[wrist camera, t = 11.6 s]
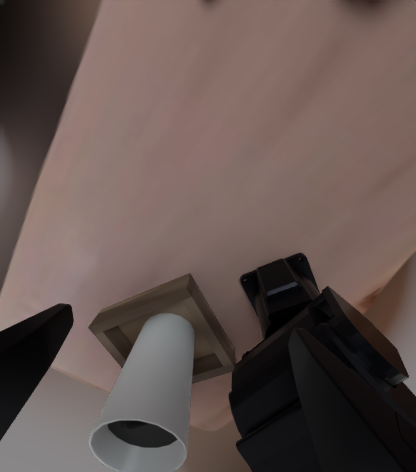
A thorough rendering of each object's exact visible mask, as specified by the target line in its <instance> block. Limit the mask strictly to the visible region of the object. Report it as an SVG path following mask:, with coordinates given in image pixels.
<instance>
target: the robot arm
mask: <svg viewBox="0 0 416 472" xmlns="http://www.w3.org/2000/svg"><path fill="white" fill-rule="evenodd" d="M300 257H303V258H302V259H301V260H299V258H300ZM244 279H248V280H247V281H243V280H244ZM240 281H241V284H242V286H243V288H244V290H245V292H246V294H247V296H248V298H249V300H250V302H251V304H252V306H253V308H254V310H255V312H256V314H257V316H258V318H259V322H260V326H261V330H262V334H263V338H264V340H263V341H262V342H261V343H259V344H258V345H257V346H256V347H254V348H253V349H252V350H251V351H247V352H246V353H245V354H243V356H242V360H241V361H239V362H238V363H237V364H236V365H235V367H234V370H233V373H232V391H231V392H230V393H229V402H230V407H231V411H232V415H233V418H234V420H235V423H236V426H237V429H238V431H239V433H240V435H241V437H242V439H240V440H238V441H237V443H236V447H237V449H238V451H239V452H240V454H241V455H242V457H243V458H244V459H245V461H246V462H247V464H248V465H249V466H250V468H251V470H252V472H416V396H415V395H414V394H413V393H412V392H411V391H410V389H409V388H408V387H407V386H406V385H405V384H404V383H403V382H402V381H404V380H405V379H407V378H409V375H408V373H407V371H406V368H405V366H404V364H403V361H402V359H401V357H400V355H399V352H398V350H397V349H396V347H395V346H394V345H393V344H392V343H391V342H390V341H389V340H388V339H387V338H386V337H385V336H384V335H383V334H382V333H381V332H380V331H379V330H378V329H377V328H376V327H375V326H374V325H373V324H372V322H370V321H369V320H368V319H367V318H366V317H365V316H363V315H362V314H361V313H360V312H359V311H357V310H356V309H355V308H354V307H353V306H352V305H350V304H349V303H348V302H347V301H346V300H344V299H343V298H342V297H341V296H340V295H338V294H337V293H336V292H335V291H334V290H332V289H331V288H330V287H329V286H327V287H326V288H325V289H323V290H322V293H321V294H320V292H319V290H318V287H317V284H316V281H315V279H314V276H313V273H312V271H311V268H310V265H309V263H308V260H307V257H306V256H305V255H304V254H303V253H298V254H295V255H293V256H290V257H288V258H285V259H279V260H277V261H274V262H272V263H269V264H267V265H264V266H262V267H259V268H258V269H257V270H254V271H252V272H249V273H247V274H244V275H242V276H241V277H240ZM73 322H74V319H73V313H72V307H71V305H69V304H62V303H61V304H57V305H55V306H53V307H51V308H49V309H46V310H44V311H42V312H40V313H38V314H36V315H34V316H32V317H30V318H28V319H25V320H23V321H21V322H19V323H17V324H15V325H13V326H11V327H9V328H7V329H4V330H2V331H0V440H1V439H2V437H3V436H4V434H5V433H6V432H7V430H8V429H9V427H10V426H11V424H12V423H13V421H14V420H15V418H16V417H17V415H18V414H19V412H20V411H21V409H22V408H23V406H24V405H25V403H26V402H27V400H28V399H29V397H30V396H31V394H32V393H33V391H34V390H35V388H36V387H37V385H38V384H39V382H40V381H41V379H42V378H43V376H44V375H45V373H46V372H47V370H48V369H49V367H50V366H51V364H52V362H53V361H54V359H55V357H56V355H57V354H58V352H59V350H60V348H61V346H62V344H63V343H64V341H65V339H66V337H67V335H68V333H69V332H70V330H71V328H72V326H73Z"/></svg>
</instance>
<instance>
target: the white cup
mask: <svg viewBox="0 0 416 472" xmlns="http://www.w3.org/2000/svg"><path fill="white" fill-rule="evenodd" d="M194 343H195V334H194V329H193V327H192V326H191V324H190V323H189V322H188V321H187V320H186V319H184V318H183V317H181V316H179V315H175V314H172V313H160V314H157V315H154V316H152V317H150V318H149V319H148V320H147V321H146V322H145V324H144V326H143V328H142V330H141V332H140V334H139V336H138V338H137V340H136V342H135V344H134V346H133V348H132V350H131V352H130V354H129V356H128V358H127V360H126V362H125V364H124V366H123V368H122V370H121V372H120V374H119V376H118V378H117V380H116V383H115V385H114V387H113V389H112V391H111V393H110V395H109V397H108V399H107V401H106V403H105V405H104V407H103V409H102V411H101V413H100V415H99V417H98V419H97V421H96V423H95V425H94V427H93V429H92V431H91V434H90V438H89V442H88V444H89V447H90V449H91V451H92V454H93V455H94V456H95V457H96V458H97V459H98V460H99V461H100V462H102V463H103V464H104V465H106V466H108V467H110V468H112V469H114V470H116V471H118V472H173V471H175V470H176V469H178V468H179V467H181V466H182V464H183V463H184V461H185V459H186V457H187V447H188V433H189V432H188V431H189V418H190V403H191V388H192V373H193V358H194Z"/></svg>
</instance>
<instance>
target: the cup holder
mask: <svg viewBox="0 0 416 472" xmlns="http://www.w3.org/2000/svg"><path fill="white" fill-rule="evenodd" d="M160 313H172V314H175V315H179V316H181V317H183V318H184V319H186V320H187V321H188V322H189V323H190V324H191V326H192V327H193V329H194V334H195V343H194V358H193V373H192V383H196V382H199V381H202V380H206V379H209V378H212V377H215V376H219V375H222V374H225V373H229V372H232V371H233V370H234V367H235V365H236V362H235V351H234V348H233V346H232V344H231V343H230V341H229V339H228V337H227V336H226V334H225V332H224V331H223V329H222V327H221V325H220V324H219V322H218V320H217V319H216V317H215V315H214V313H213V312H212V310H211V308H210V307H209V305H208V303H207V301H206V300H205V298H204V296H203V295H202V293H201V291H200V289H199V288H198V286H197V284H196V283H195V281H194V279H193V277H192V276H191V274H190V273H189V274H187V275H184V276H182V277H180V278H177V279H175V280H172V281H170V282H168V283H165V284H163V285H160V286H158V287H155V288H153V289H151V290H148V291H146V292H143V293H141V294H138V295H136V296H134V297H131V298H129V299H126V300H124V301H122V302H119V303H117V304H114V305H112V306H109V307H107V308H105V309H102V310H101V311H100V312H99V314H98V315H97V316H96V318H95V319H94V320H93V322H92V323H91V324H90V326H89V327H88V328H89V329H90V330H91V332H92V333H93V334H94V335H95V336H96V337H97V339H98V340H99V341H100V342H101V343H102V345H103V346H104V347H105V348H106V349H107V351H108V352H109V353H110V354H111V355H112V357H113V358H114V359H115V360H116V361H117V362H118V364H119V365H120V366H121V367H122V368H123V366H124V364H125V362H126V360H127V358H128V356H129V354H130V352H131V350H132V348H133V346H134V344H135V342H136V340H137V338H138V336H139V334H140V332H141V330H142V328H143V326H144V324H145V322H146V321H147V320H148V319H149V318H150V317H152V316H154V315H157V314H160Z"/></svg>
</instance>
